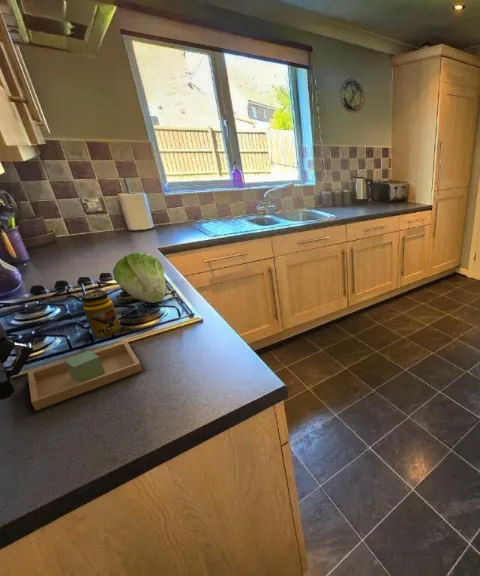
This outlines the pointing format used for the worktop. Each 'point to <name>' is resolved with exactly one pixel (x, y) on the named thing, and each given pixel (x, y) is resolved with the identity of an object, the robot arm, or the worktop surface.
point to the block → (84, 366)
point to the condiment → (101, 314)
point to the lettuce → (141, 277)
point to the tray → (60, 385)
